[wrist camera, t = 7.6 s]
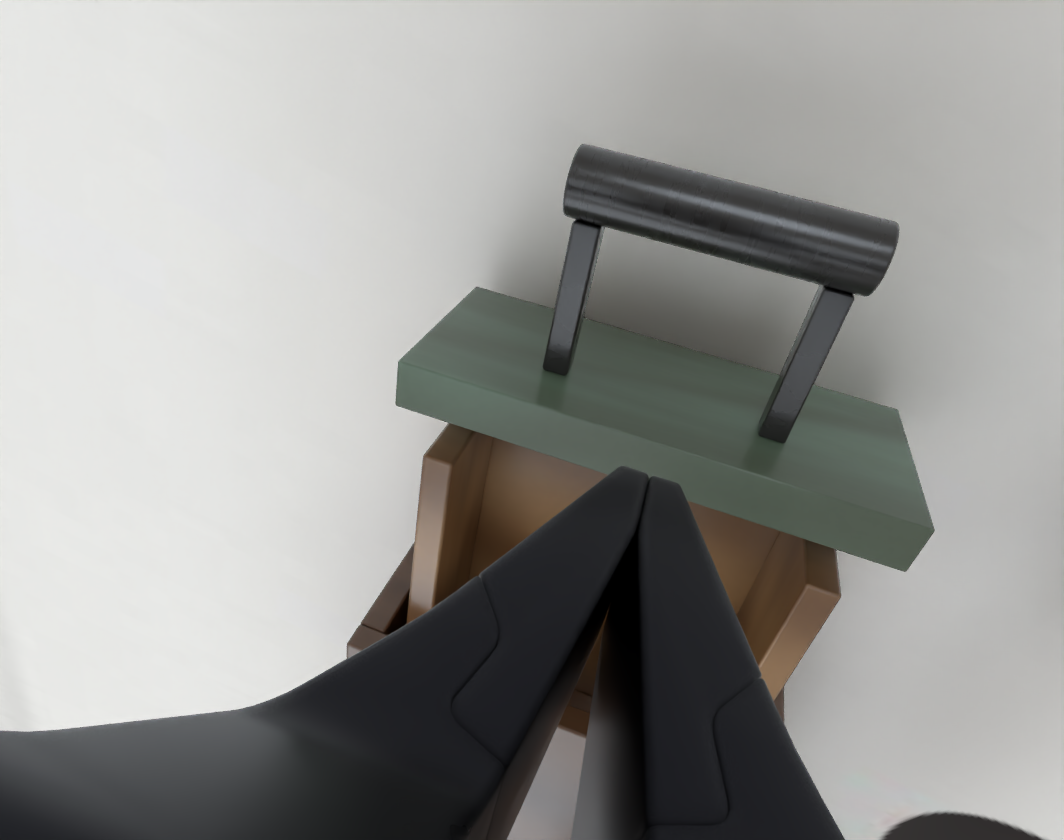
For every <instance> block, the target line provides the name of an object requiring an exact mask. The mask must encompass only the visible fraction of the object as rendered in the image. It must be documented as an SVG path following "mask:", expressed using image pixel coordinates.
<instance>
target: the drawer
mask: <svg viewBox="0 0 1064 840" xmlns="http://www.w3.org/2000/svg"><path fill="white" fill-rule="evenodd" d="M563 212H564V215H565V216H567V217H570V218H574V219H576V220H575V221H574V222H573V223H572V227H571V232H570V237H569V242H568V246H567V251H566V256H565V261H564V266H563V271H562V275H561V280H560V285H559V290H558V295H557V299H556V304H555V309H552V308H548V307H545V306H541V305H538V304H535V303H531V302H528V301H524V300H521V299H517V298H514V297H511V296H507V295H504V294H500V293H497V292H493V291H490V290H487V289H483V288H480V287H476V288H475V289H473V290H472V291H471V292H470V293H469V294H468V295H467V296H466V297H465V298H464V299H463V300H462V301H461V302H460V303H459V304H458V305H457V306H456V307H455V308H454V309H453V310H451V311H450V312H449V313H448V314H447V315H446V316H445V317H444V318H443V319H442V320H441V321H440V322H439V323H438V324H437V325H436V326H435V327H434V328H433V329H432V330H431V331H429V332H428V333H427V334H426V335H425V336H424V337H423V338H422V339H421V340H420V341H419V342H418V343H417V344H416V345H415V346H414V347H413V348H412V349H411V350H410V351H409V352H408V353H406V354H405V355H404V356H403V357H402V358H401V359H400V360H399V362H398V374H397V389H396V405H397V406H399V407H402V408H405V409H408V410H411V411H415V412H418V413H421V414H424V415H427V416H430V417H433V418H436V419H439V420H442V421H445V422H448V424H447V426H446V427H445V428H444V430H443V431H442V432H441V434H440V435H439V436H438V437H437V439H436V440H435V441H434V443H433V444H432V445H431V446H430V448H429V449H428V450H427V452H426V453H425V454H424V456H423V464H422V474H421V484H420V494H419V504H418V513H417V523H416V533H415V543H414V553H413V563H412V573H411V583H410V593H409V603H408V613H407V623H406V624H408V623H409V622H411V621H413V620H414V619H416V618H418V617H419V616H421V615H423V614H424V613H426V612H427V611H429V610H430V609H432V608H433V607H434V606H436V605H437V604H439V603H440V602H442V601H443V600H444V599H446V598H447V597H449V596H450V595H451V594H453V593H454V592H456V591H457V590H458V589H460V588H461V587H462V586H463V585H465V584H466V583H467V582H469V581H470V580H471V579H473V578H474V577H475V576H479V574H480V573H481V572H482V571H483V570H485V569H486V568H487V567H489V566H490V565H491V564H493V563H494V562H495V561H497V560H498V559H499V558H500V557H502V556H503V555H504V554H506V553H507V552H508V551H510V550H511V549H512V548H514V547H515V546H516V545H517V544H519V543H520V542H521V541H523V540H524V539H525V538H527V537H528V536H529V535H531V534H532V533H533V532H534V531H536V530H537V529H538V528H540V527H541V526H542V525H544V524H545V523H546V522H548V521H549V520H550V519H551V518H553V517H554V516H555V515H557V514H558V513H559V512H561V511H562V510H563V509H565V508H566V507H567V506H568V505H570V504H571V503H572V502H574V501H575V500H576V499H578V498H579V497H580V496H582V495H583V494H584V493H585V492H587V491H588V490H589V489H591V488H592V487H593V486H595V485H596V484H597V483H598V482H600V481H601V480H602V479H604V478H605V477H606V476H608V475H609V474H610V473H612V472H613V471H614V470H615V469H617V468H618V467H620V466H626V467H629V468H632V469H635V470H638V471H642V472H645V473H647V475H648V477H649V479H650V477H652V476H657V477H660V478H663V479H666V480H669V481H673V482H676V483H678V484H679V485H680V486H681V488H682V490H683V492H684V495H685V497H686V499H687V502H688V504H689V506H690V509H691V511H692V513H693V516H694V518H695V520H696V522H697V525H698V527H699V529H700V532H701V534H702V536H703V539H704V541H705V543H706V546H707V548H708V550H709V553H710V555H711V557H712V560H713V562H714V564H715V567H716V569H717V571H718V574H719V576H720V578H721V581H722V583H723V585H724V588H725V590H726V592H727V595H728V597H729V599H730V602H731V604H732V606H733V609H734V611H735V613H736V616H737V618H738V620H739V622H740V625H741V627H742V629H743V632H744V634H745V636H746V639H747V641H748V643H749V646H750V648H751V650H752V653H753V655H754V657H755V660H756V662H757V664H758V667H759V669H760V671H761V674H762V676H761V678H762V679H764V680H765V682H766V685H767V687H768V689H769V692H770V694H771V696H772V699H773V701H774V700H775V699H776V697H777V696H778V694H779V692H780V691H781V689H782V688H783V686H784V685H785V683H786V682H787V680H788V678H789V677H790V675H791V674H792V672H793V671H794V669H795V668H796V666H797V665H798V663H799V661H800V660H801V658H802V657H803V655H804V654H805V652H806V651H807V649H808V647H809V646H810V644H811V643H812V641H813V640H814V638H815V637H816V635H817V633H818V632H819V630H820V629H821V627H822V626H823V624H824V623H825V621H826V619H827V618H828V616H829V615H830V613H831V612H832V610H833V609H834V607H835V606H836V604H837V602H838V601H839V599H840V598H841V590H840V581H839V572H838V563H837V555H836V550H839V551H843V552H846V553H849V554H852V555H855V556H858V557H861V558H864V559H867V560H870V561H873V562H876V563H879V564H882V565H885V566H888V567H891V568H895V569H898V570H901V571H904V572H906V571H907V570H908V568H909V567H910V565H911V564H912V562H913V561H914V560H915V558H916V557H917V555H918V554H919V552H920V551H921V550H922V548H923V547H924V545H925V544H926V543H927V541H928V540H929V538H930V537H931V535H932V534H933V533H934V527H933V523H932V520H931V517H930V514H929V510H928V507H927V504H926V500H925V497H924V494H923V491H922V487H921V484H920V481H919V477H918V474H917V471H916V468H915V464H914V461H913V458H912V455H911V451H910V448H909V445H908V441H907V438H906V435H905V432H904V428H903V425H902V422H901V419H900V415H899V412H898V410H897V409H894V408H891V407H887V406H884V405H880V404H877V403H873V402H870V401H867V400H863V399H860V398H856V397H853V396H850V395H846V394H843V393H839V392H836V391H832V390H829V389H826V388H822V387H819V386H815V385H813V384H814V382H815V380H816V378H817V376H818V374H819V372H820V370H821V368H822V366H823V364H824V361H825V359H826V357H827V355H828V353H829V351H830V349H831V347H832V345H833V343H834V341H835V339H836V336H837V334H838V332H839V330H840V328H841V326H842V324H843V322H844V320H845V318H846V316H847V314H848V312H849V309H850V307H851V305H852V303H853V301H854V294H856V295H860V296H864V297H866V296H869V295H871V294H872V293H873V292H874V291H875V290H876V288H877V287H878V286H879V284H880V283H881V281H882V279H883V278H884V276H885V274H886V272H887V270H888V268H889V265H890V263H891V261H892V258H893V256H894V253H895V250H896V246H897V243H898V238H899V225H898V223H897V222H895V221H891V220H887V219H883V218H879V217H875V216H871V215H867V214H863V213H859V212H855V211H851V210H847V209H843V208H839V207H835V206H831V205H827V204H823V203H819V202H815V201H811V200H807V199H803V198H799V197H795V196H791V195H787V194H783V193H779V192H775V191H771V190H767V189H763V188H759V187H755V186H751V185H747V184H743V183H739V182H735V181H732V180H728V179H724V178H720V177H716V176H712V175H708V174H704V173H700V172H696V171H692V170H688V169H684V168H680V167H676V166H672V165H668V164H664V163H660V162H656V161H652V160H648V159H644V158H640V157H636V156H632V155H628V154H624V153H620V152H616V151H612V150H608V149H604V148H600V147H596V146H592V145H588V144H582V145H580V147H579V148H578V150H577V152H576V154H575V156H574V158H573V161H572V164H571V167H570V170H569V173H568V177H567V181H566V186H565V191H564V198H563ZM605 227H607V228H611V229H615V230H619V231H622V232H626V233H630V234H633V235H637V236H641V237H645V238H648V239H652V240H656V241H659V242H663V243H667V244H671V245H674V246H678V247H682V248H685V249H689V250H693V251H697V252H700V253H704V254H708V255H711V256H715V257H719V258H723V259H726V260H730V261H734V262H737V263H741V264H745V265H749V266H752V267H756V268H760V269H763V270H767V271H771V272H775V273H778V274H782V275H786V276H789V277H793V278H797V279H801V280H804V281H808V282H812V283H815V284H819V287H818V290H817V292H816V294H815V296H814V299H813V301H812V303H811V305H810V308H809V310H808V312H807V314H806V317H805V319H804V321H803V323H802V326H801V328H800V330H799V332H798V335H797V337H796V339H795V341H794V344H793V346H792V348H791V350H790V353H789V355H788V357H787V360H786V362H785V364H784V366H783V369H782V371H781V373H780V375H778V374H774V373H771V372H767V371H764V370H761V369H757V368H754V367H750V366H747V365H743V364H740V363H737V362H733V361H730V360H726V359H723V358H719V357H716V356H713V355H709V354H706V353H702V352H699V351H695V350H692V349H689V348H685V347H682V346H678V345H675V344H671V343H668V342H665V341H661V340H658V339H654V338H651V337H648V336H644V335H641V334H637V333H634V332H630V331H627V330H624V329H620V328H617V327H613V326H610V325H606V324H603V323H600V322H596V321H593V320H589V319H586V318H584V313H585V309H586V305H587V301H588V297H589V292H590V288H591V284H592V280H593V275H594V271H595V267H596V263H597V259H598V254H599V250H600V246H601V242H602V237H603V233H604V229H605ZM606 615H607V614H606ZM605 619H606V616H605ZM605 619H604V622H603V625H602V627H601V630H600V632H599V635H598V637H597V639H596V642H595V644H594V646H593V648H592V651H591V653H590V655H589V657H588V660H587V662H586V664H585V666H584V669H583V671H582V673H581V675H580V677H579V680H578V682H577V684H576V686H575V689H574V691H573V693H572V695H571V698H570V700H569V702H568V704H569V705H571V706H574V707H577V708H579V709H582V710H584V711H587V712H590V711H591V704H592V697H593V691H594V684H595V678H596V671H597V664H598V658H599V651H600V645H601V639H602V633H603V628H604V623H605Z"/></svg>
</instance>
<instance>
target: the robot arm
mask: <svg viewBox="0 0 1064 840" xmlns="http://www.w3.org/2000/svg"><path fill="white" fill-rule="evenodd" d="M606 614H607V615H606ZM605 616H606V619H605ZM604 619H605V623H604V628H603V633H602V639H601V645H600V651H599V658H598V664H597V671H596V678H595V684H594V691H593V697H592V704H591V711H590V717H589V724H588V730H587V737H586V743H585V750H584V757H583V763H582V770H581V776H580V783H579V790H578V796H577V803H576V809H575V816H574V822H573V829H572V836H571V840H845V839H844V837H843V835H842V833H841V832H840V830H839V828H838V826H837V824H836V823H835V821H834V819H833V817H832V816H831V814H830V812H829V810H828V808H827V807H826V805H825V803H824V801H823V799H822V798H821V796H820V794H819V792H818V790H817V788H816V786H815V785H814V783H813V781H812V779H811V777H810V775H809V773H808V771H807V769H806V768H805V766H804V764H803V762H802V760H801V758H800V756H799V754H798V752H797V751H796V749H795V747H794V744H793V742H792V740H791V738H790V736H789V734H788V732H787V729H786V727H785V725H784V723H783V721H782V719H781V716H780V714H779V712H778V710H777V708H776V706H775V703H774V701H773V699H772V696H771V694H770V692H769V689H768V687H767V685H766V682H765V680H764V679H762V678H761V676H762V674H761V671H760V669H759V667H758V664H757V662H756V660H755V657H754V655H753V653H752V650H751V648H750V646H749V643H748V641H747V639H746V636H745V634H744V632H743V629H742V627H741V625H740V622H739V620H738V618H737V616H736V613H735V611H734V609H733V606H732V604H731V602H730V599H729V597H728V595H727V592H726V590H725V588H724V585H723V583H722V581H721V578H720V576H719V574H718V571H717V569H716V567H715V564H714V562H713V560H712V557H711V555H710V553H709V550H708V548H707V546H706V543H705V541H704V539H703V536H702V534H701V532H700V529H699V527H698V525H697V522H696V520H695V518H694V516H693V513H692V511H691V509H690V506H689V504H688V502H687V499H686V497H685V495H684V492H683V490H682V488H681V486H680V485H679V484H678V483H676V482H673V481H669V480H666V479H663V478H660V477H657V476H652V477H650V479H649V477H648V475H647V473H645V472H642V471H638V470H635V469H632V468H629V467H626V466H620V467H618V468H617V469H615V470H614V471H613V472H612V473H610V474H609V475H608V476H606V477H605V478H604V479H602V480H601V481H600V482H598V483H597V484H596V485H595V486H593V487H592V488H591V489H589V490H588V491H587V492H585V493H584V494H583V495H582V496H580V497H579V498H578V499H576V500H575V501H574V502H572V503H571V504H570V505H568V506H567V507H566V508H565V509H563V510H562V511H561V512H559V513H558V514H557V515H555V516H554V517H553V518H551V519H550V520H549V521H548V522H546V523H545V524H544V525H542V526H541V527H540V528H538V529H537V530H536V531H534V532H533V533H532V534H531V535H529V536H528V537H527V538H525V539H524V540H523V541H521V542H520V543H519V544H517V545H516V546H515V547H514V548H512V549H511V550H510V551H508V552H507V553H506V554H504V555H503V556H502V557H500V558H499V559H498V560H497V561H495V562H494V563H493V564H491V565H490V566H489V567H487V568H486V569H485V570H483V571H482V572H481V573H480V574H479V576H475V577H474V578H473V579H471V580H470V581H469V582H467V583H466V584H465V585H463V586H462V587H461V588H460V589H458V590H457V591H456V592H454V593H453V594H451V595H450V596H449V597H447V598H446V599H444V600H443V601H442V602H440V603H439V604H437V605H436V606H434V607H433V608H432V609H430V610H429V611H427V612H426V613H424V614H423V615H421V616H419V617H418V618H416V619H414V620H413V621H411V622H409V623H408V624H406V625H404V626H403V627H401V628H400V629H398V630H396V631H395V632H393V633H391V634H390V635H388V636H386V637H384V638H383V639H381V640H379V641H377V642H376V643H374V644H372V645H370V646H369V647H367V648H365V649H363V650H362V651H360V652H358V653H356V654H355V655H353V656H351V657H349V658H348V659H346V660H344V661H342V662H341V663H339V664H337V665H335V666H334V667H332V668H330V669H328V670H327V671H325V672H323V673H321V674H320V675H318V676H316V677H314V678H313V679H311V680H309V681H307V682H306V683H304V684H302V685H300V686H298V687H297V688H295V689H293V690H291V691H289V692H287V693H285V694H283V695H280V696H278V697H276V698H274V699H271V700H268V701H266V702H263V703H260V704H257V705H254V706H250V707H246V708H243V709H238V710H231V711H223V712H214V713H205V714H196V715H187V716H178V717H169V718H160V719H151V720H142V721H133V722H124V723H116V724H107V725H98V726H89V727H80V728H71V729H62V730H49V731H33V732H19V731H0V840H507V838H508V836H509V834H510V831H511V829H512V827H513V825H514V823H515V820H516V818H517V816H518V814H519V811H520V809H521V807H522V805H523V802H524V800H525V798H526V796H527V793H528V791H529V789H530V787H531V785H532V782H533V780H534V778H535V776H536V773H537V771H538V769H539V767H540V764H541V762H542V760H543V758H544V756H545V753H546V751H547V749H548V747H549V744H550V742H551V740H552V738H553V735H554V733H555V731H556V729H557V727H558V724H559V722H560V720H561V718H562V715H563V713H564V711H565V709H566V706H567V704H568V702H569V700H570V698H571V695H572V693H573V691H574V689H575V686H576V684H577V682H578V680H579V677H580V675H581V673H582V671H583V669H584V666H585V664H586V662H587V660H588V657H589V655H590V653H591V651H592V648H593V646H594V644H595V642H596V639H597V637H598V635H599V632H600V630H601V627H602V625H603V622H604Z"/></svg>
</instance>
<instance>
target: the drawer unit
mask: <svg viewBox="0 0 1064 840" xmlns="http://www.w3.org/2000/svg"><path fill="white" fill-rule="evenodd" d="M414 543H415V542H414ZM413 553H414V544H413V545H412V547H411V548H410V550H409V551H408V553H407V554H406V556H405V557H404V559H403V560H402V562H401V563H400V565H399V566H398V568H397V569H396V571H395V572H394V574H393V575H392V577H391V578H390V580H389V581H388V583H387V584H386V586H385V587H384V589H383V590H382V592H381V593H380V595H379V596H378V598H377V599H376V601H375V602H374V604H373V605H372V607H371V608H370V610H369V611H368V613H367V614H366V616H365V617H364V619H363V620H362V622H361V625H360V626H359V627H358V628H357V629H356V631H355V632H354V634H353V635H352V637H351V638H350V640H349V641H348V643H347V659H348V658H349V657H351V656H353V655H355V654H356V653H358V652H360V651H362V650H363V649H365V648H367V647H369V646H370V645H372V644H374V643H376V642H377V641H379V640H381V639H383V638H384V637H386V636H388V635H390V634H391V633H393V632H395V631H396V630H398V629H400V628H401V627H403V626H404V625H406V623H407V613H408V603H409V593H410V583H411V573H412V563H413ZM774 703H775V706H776V708H777V710H778V712H779V714H780V716H781V719H782V721H783V723H784V686H783V688H782V689H781V691H780V692H779V694H778V696H777V697H776V699H775V700H774ZM589 717H590V712H587V711H584V710H582V709H579V708H577V707H574V706H571V705H569V704H567V706H566V709H565V711H564V713H563V715H562V718H561V720H560V722H559V724H558V727H557V729H556V731H555V733H554V735H553V738H552V740H551V742H550V744H549V747H548V749H547V751H546V753H545V756H544V758H543V760H542V762H541V764H540V767H539V769H538V771H537V773H536V776H535V778H534V780H533V782H532V785H531V787H530V789H529V791H528V793H527V796H526V798H525V800H524V802H523V805H522V807H521V809H520V811H519V814H518V816H517V818H516V820H515V823H514V825H513V827H512V829H511V831H510V834H509V836H508V838H507V840H571V836H572V829H573V822H574V816H575V809H576V803H577V796H578V790H579V783H580V776H581V770H582V763H583V757H584V750H585V743H586V737H587V730H588V724H589Z"/></svg>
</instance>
